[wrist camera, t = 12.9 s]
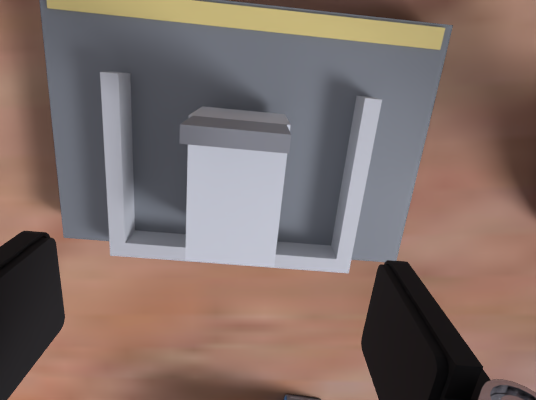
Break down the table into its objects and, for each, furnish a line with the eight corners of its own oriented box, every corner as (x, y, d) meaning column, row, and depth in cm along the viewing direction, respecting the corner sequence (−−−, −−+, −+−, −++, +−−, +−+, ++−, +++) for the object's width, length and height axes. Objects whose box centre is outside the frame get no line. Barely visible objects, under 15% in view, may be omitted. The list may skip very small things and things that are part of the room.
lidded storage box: (204, 104, 23) (174, 123, 15) (284, 112, 23) (296, 135, 15) (200, 221, 26) (172, 291, 18) (271, 227, 26) (276, 298, 18)
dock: (64, -10, 23) (14, -30, 19) (430, 30, 24) (471, 21, 20) (83, 221, 29) (48, 250, 24) (382, 244, 30) (405, 277, 25)
